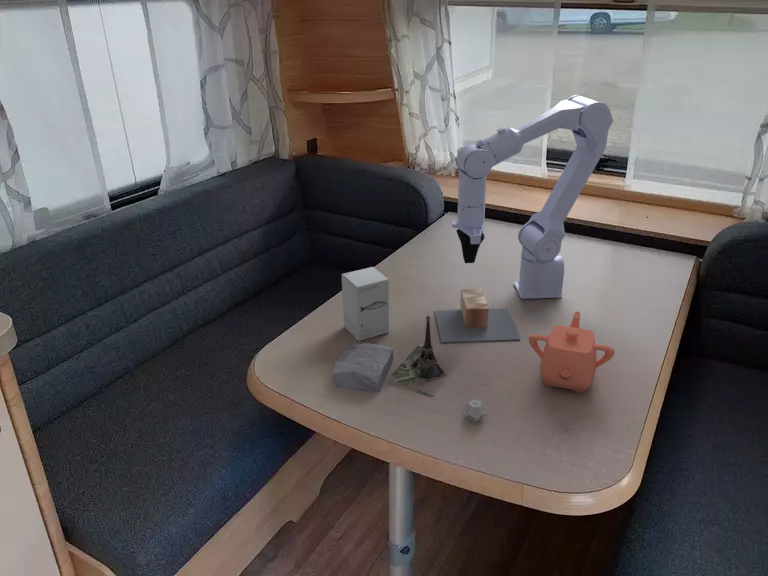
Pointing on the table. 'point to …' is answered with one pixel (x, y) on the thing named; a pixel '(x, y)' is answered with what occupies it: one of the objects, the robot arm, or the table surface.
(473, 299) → the tall block
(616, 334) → the table surface
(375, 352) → the stone block
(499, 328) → the mat
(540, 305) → the table surface
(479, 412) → the game die
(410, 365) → the eiffel tower figurine
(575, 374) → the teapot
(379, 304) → the supplement box
